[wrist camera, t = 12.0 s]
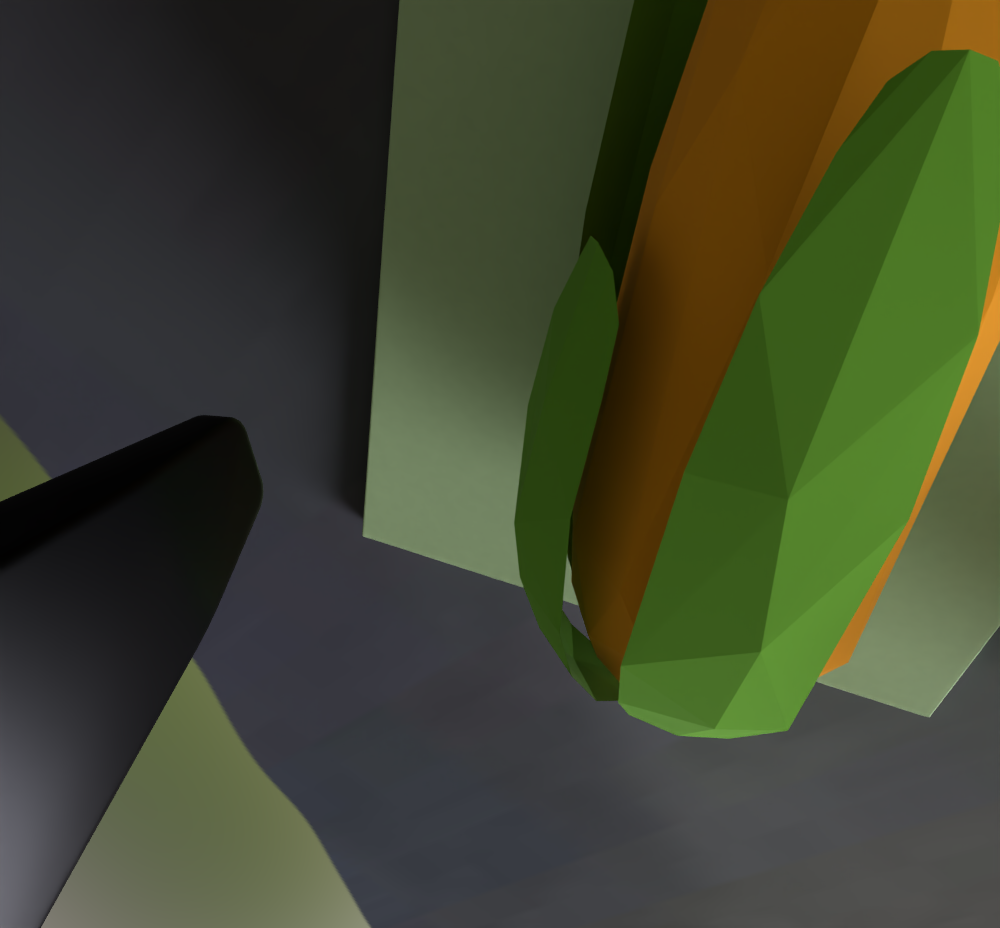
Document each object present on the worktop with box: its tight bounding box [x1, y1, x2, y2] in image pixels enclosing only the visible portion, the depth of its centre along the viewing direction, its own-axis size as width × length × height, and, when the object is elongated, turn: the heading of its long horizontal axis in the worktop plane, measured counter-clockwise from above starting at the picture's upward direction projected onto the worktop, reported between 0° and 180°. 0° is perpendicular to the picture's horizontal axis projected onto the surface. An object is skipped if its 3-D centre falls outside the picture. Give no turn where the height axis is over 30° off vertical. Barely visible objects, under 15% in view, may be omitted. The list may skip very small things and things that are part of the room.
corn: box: [514, 0, 1000, 739], centre depth 14 cm, size 7×8×20 cm
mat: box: [362, 0, 1000, 717], centre depth 17 cm, size 16×24×1 cm, turn 172°
